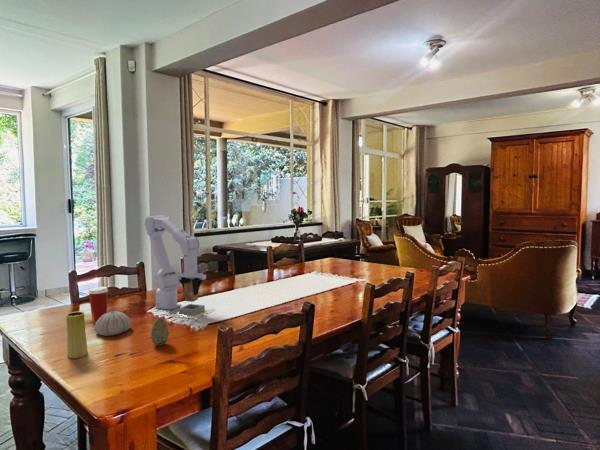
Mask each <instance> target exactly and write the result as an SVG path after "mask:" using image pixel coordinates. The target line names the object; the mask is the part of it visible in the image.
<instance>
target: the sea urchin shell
mask: <svg viewBox="0 0 600 450" xmlns="http://www.w3.org/2000/svg"><path fill="white" fill-rule="evenodd" d="M131 325H132V321H131V319H130V317H129V316H128V315H127V314H125V313H124V312H122V311H117V310H115V311H114V310H113V311H109V312H107V313H106V314H103V315H102V316H101V317H100V318H99V319H98V320H97V321H96V323H94V325H93V328H94V331H95V333H97V335H101V336H105V337H110V336H115V335H120V334H122V333H124V332H127V331H128V330H129V329H130V328H131Z"/></svg>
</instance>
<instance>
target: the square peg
mask: <svg viewBox="0 0 600 450" xmlns="http://www.w3.org/2000/svg"><path fill="white" fill-rule="evenodd" d="M184 290H185V291H184ZM183 291H184V301H185V302H191V303H194V302H195V301H197V300H198V299H199V296H198V295H199V293H198V294H197V295H194V290H193V284H192V281H191V280H190V281H189V282H187V283H184V288H183Z"/></svg>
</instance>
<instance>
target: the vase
mask: <svg viewBox="0 0 600 450" xmlns="http://www.w3.org/2000/svg"><path fill="white" fill-rule="evenodd" d="M65 316H66V317H65V318H66V328H67V329H66V333H67V335H66V336H67V358H68V357H69V359H78V358H79V357H80V358H84V357H86V356H87V355H88V354H89V352H88V344H87V343H88V342H87V334H86V323H85V322H86V321H85V312H84V311H72V312H69V313H67V314H66V315H65Z"/></svg>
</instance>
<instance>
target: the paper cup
mask: <svg viewBox="0 0 600 450" xmlns="http://www.w3.org/2000/svg"><path fill="white" fill-rule="evenodd" d="M108 292H109V289H108V287H107V286H95V287H91V288H89V290H88V292H87V294H89V295H88V297H89V306H90V313H91V319H92V323H94V324H95V323H96V321H97V320H98V319H99V318H100V317H101V316H102V315H103V314H106V313H108Z"/></svg>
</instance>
